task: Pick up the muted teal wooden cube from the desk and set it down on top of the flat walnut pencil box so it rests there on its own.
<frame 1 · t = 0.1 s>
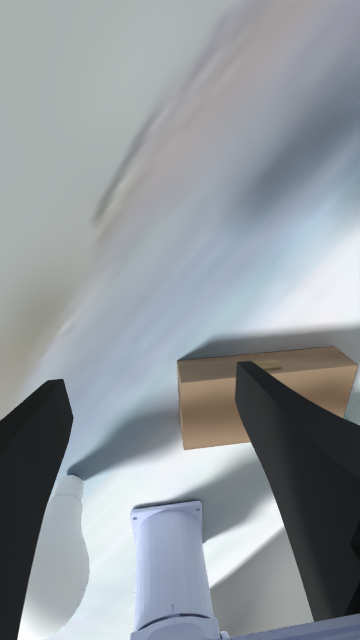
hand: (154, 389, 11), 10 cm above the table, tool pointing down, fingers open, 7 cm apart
pencil box: (254, 386, 25), on the table
lightbulb: (73, 475, 27), on the table
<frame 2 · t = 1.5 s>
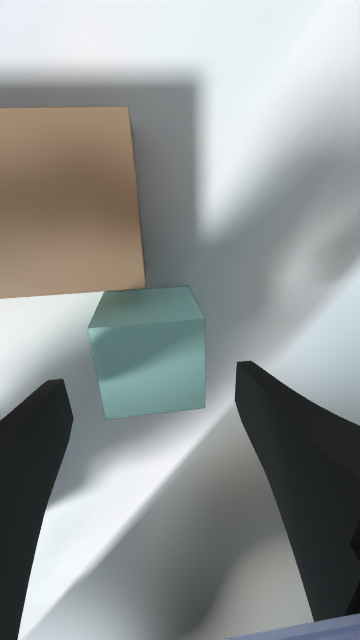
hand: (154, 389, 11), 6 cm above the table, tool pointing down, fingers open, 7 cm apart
teal cube: (150, 326, 17), on the table
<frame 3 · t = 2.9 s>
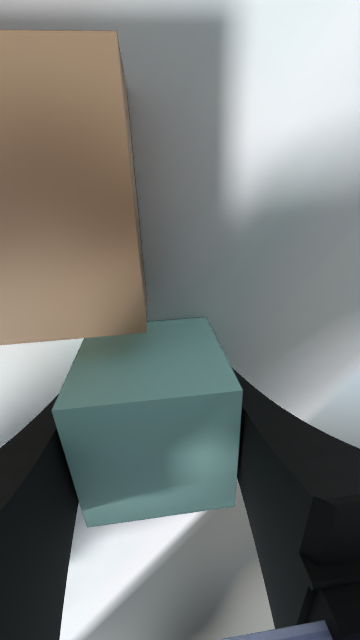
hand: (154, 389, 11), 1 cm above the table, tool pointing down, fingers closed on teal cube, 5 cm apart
teal cube: (153, 370, 13), on the table, touching gripper
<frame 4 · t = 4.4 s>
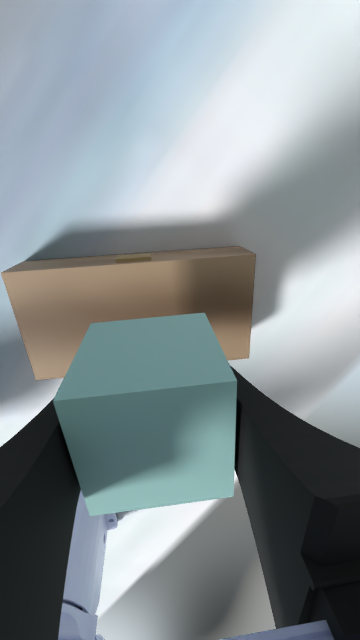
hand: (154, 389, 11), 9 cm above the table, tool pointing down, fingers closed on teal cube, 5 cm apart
teal cube: (154, 365, 13), point 7 cm above the table, touching gripper
pencil box: (141, 303, 19), on the table
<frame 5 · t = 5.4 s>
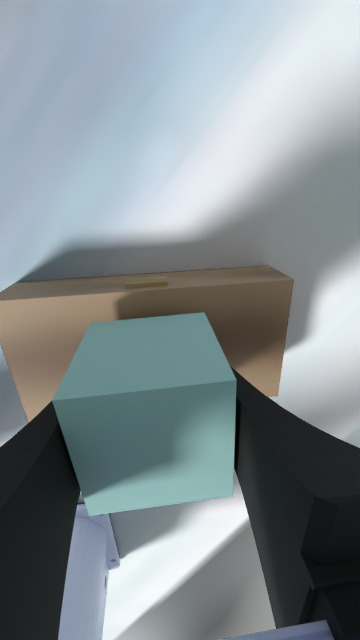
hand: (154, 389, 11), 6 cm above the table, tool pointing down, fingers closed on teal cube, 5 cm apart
teal cube: (153, 365, 13), point 4 cm above the table, touching gripper
pencil box: (152, 329, 17), on the table
when the fingers open (6 cm above the table, at t = 6.0 s): teal cube stays where it is, resting on pencil box.
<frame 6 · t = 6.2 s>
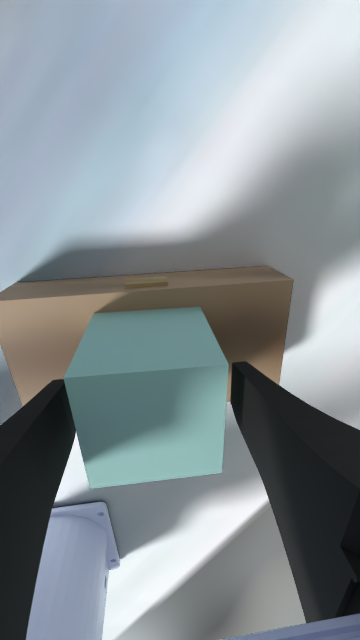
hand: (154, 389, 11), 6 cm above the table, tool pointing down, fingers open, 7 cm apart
teal cube: (151, 355, 14), point 3 cm above the table, touching pencil box
pencil box: (151, 330, 17), on the table
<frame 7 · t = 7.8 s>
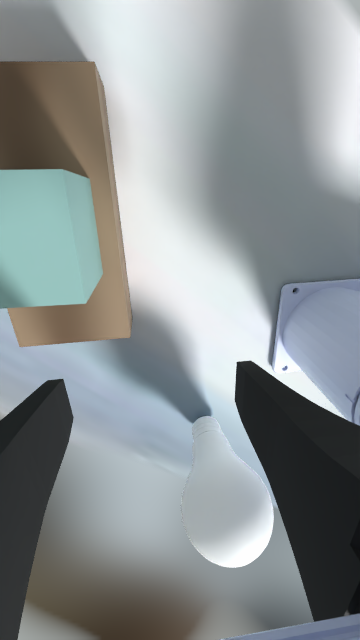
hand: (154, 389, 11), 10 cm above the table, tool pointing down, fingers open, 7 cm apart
teal cube: (50, 231, 15), point 3 cm above the table, touching pencil box
pencil box: (65, 224, 17), on the table
lightbulb: (203, 418, 26), on the table
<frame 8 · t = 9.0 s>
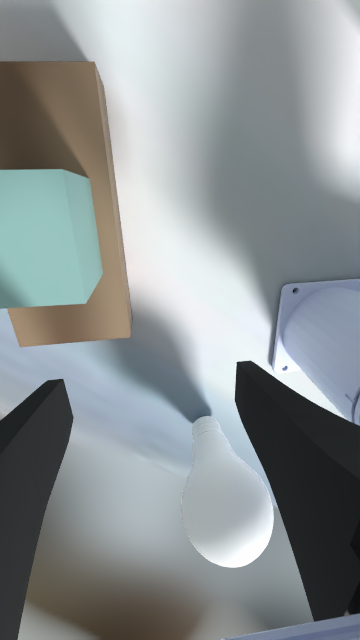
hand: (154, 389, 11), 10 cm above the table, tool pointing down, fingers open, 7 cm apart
teal cube: (50, 231, 15), point 3 cm above the table, touching pencil box
pencil box: (65, 224, 17), on the table
lightbulb: (203, 418, 26), on the table
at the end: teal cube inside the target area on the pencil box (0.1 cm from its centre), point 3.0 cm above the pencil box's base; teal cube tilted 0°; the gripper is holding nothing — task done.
